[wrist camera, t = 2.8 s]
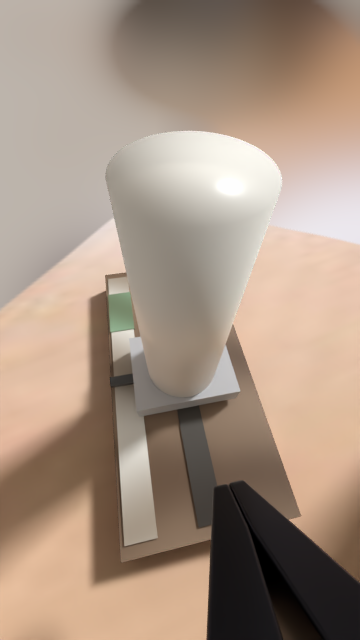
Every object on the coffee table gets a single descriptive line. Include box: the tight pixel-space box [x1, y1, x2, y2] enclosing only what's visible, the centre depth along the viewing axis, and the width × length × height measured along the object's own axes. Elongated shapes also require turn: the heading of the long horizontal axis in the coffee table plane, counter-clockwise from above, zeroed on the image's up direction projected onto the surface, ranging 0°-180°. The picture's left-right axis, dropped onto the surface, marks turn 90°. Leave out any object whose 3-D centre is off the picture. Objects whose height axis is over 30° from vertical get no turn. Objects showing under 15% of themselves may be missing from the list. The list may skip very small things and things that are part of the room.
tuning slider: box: [106, 131, 282, 417], centre depth 10 cm, size 4×6×11 cm, turn 101°
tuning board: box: [105, 273, 301, 563], centre depth 16 cm, size 16×8×2 cm, turn 11°
